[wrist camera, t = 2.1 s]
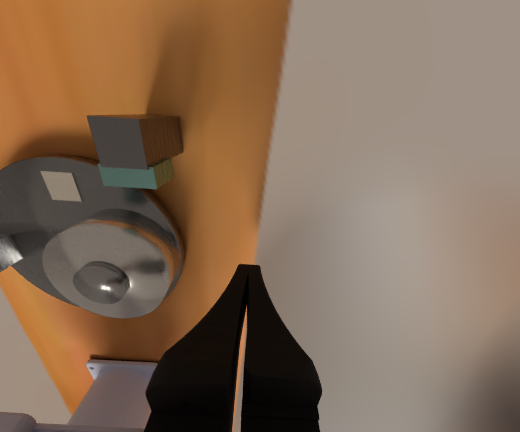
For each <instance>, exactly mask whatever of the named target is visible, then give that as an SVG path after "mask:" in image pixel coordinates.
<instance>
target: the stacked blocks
mask: <svg viewBox="0 0 520 432" xmlns="http://www.w3.org/2000/svg"><path fill="white" fill-rule="evenodd" d="M87 119H88V123H89V126H90V129H91V133H92V136H93V140H94V143H95V147H96V150H97V154H98V157H99V161H100V163H99V164H98V167H99V170H100V174H101V177H102V181H103V184H104V186H114V187H130V188H147V189H158V188H159V187H161V186H162V185H163V184H165V183H166V182H168V181H169V180H170V179H172V178H173V177H174V174H173V166H172V158H173V157H175V156H177V155H179V154H181V153H183V146H182V137H181V127H180V118H179V117H176V116H161V115H146V114H140V115H88V116H87Z"/></svg>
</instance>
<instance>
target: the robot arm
mask: <svg viewBox="0 0 520 432" xmlns="http://www.w3.org/2000/svg"><path fill="white" fill-rule="evenodd" d="M246 306H247V338H246V349H245V361H244V377H243V379H244V380H243V398H242V411H241V432H320V429H319V423H318V420H319V413H318V408H317V406H318V403H319V400H320V398H321V395H322V387H321V383H320V380H319V377H318V374H317V371H316V369H315V366H314V364H313V361H312V360H311V359H310V357H309V356H308V355H307V354H306V353H305V352H304V350H303V349H302V348H301V347H300V345H299V344H298V343H297V342H296V340H295V339H294V338H293V336H292V335H291V334H290V332H289V330H288V329H287V328H286V326H285V325H284V323H283V321H282V320H281V318H280V317H279V315H278V313H277V311H276V309H275V307H274V305H273V303H272V301H271V299H270V297H269V295H268V292H267V289H266V287H265V284H264V281H263V278H262V274H261V269H260V266H259V265H247V264H239V265H238V267H237V269H236V272H235V274H234V276H233V277H232V279H231V281H230V283H229V284H228V286H227V288H226V289H225V291H224V292H223V294H222V295H221V297H220V298H219V299H218V301H217V302H216V303H215V305H214V306H213V307H212V308H211V309H210V311H209V312H208V313H207V314H206V315H205V316H204V317H203V319H202V320H201V321H200V322H199V323H198V324H197V325H196V326H195V327H194V328H193V329H192V330H190V331H189V332H188V333H187V334H186V335H185V336H184V337H183V338H182V339H181V340H179V341H178V342H177V343H176V344H175V345H173V346H172V347H171V348H170V349H168V350H167V351H166V352H165V353H164V354H163V356H162V358H161V359H160V361H159V363H153V362H133V361H113V360H93V359H91V360H88V362H87V363H86V366H87V368H88V370H89V371H90V373H91V375H92V377H93V378H94V380H95V381H94V382H93V384H92V385H91V387H90V388H89V390H88V392H87V393H86V395H85V396H84V398H83V400H82V401H81V403H80V404H79V406H78V408H77V409H76V411H75V412H74V414H73V416H72V417H71V419H70V420H69V422H68V424H67V425H61V424H41V423H36V420H35V419H34V418H33V417H32V416H30V415H28V414H23V413H8V412H0V432H232V424H233V412H234V401H235V390H236V379H237V368H238V358H239V347H240V340H241V334H242V328H243V323H244V317H245V312H246Z"/></svg>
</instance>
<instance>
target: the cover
mask: <svg viewBox="0 0 520 432" xmlns="http://www.w3.org/2000/svg"><path fill="white" fill-rule="evenodd" d="M42 262H43V267H44V271H45V273H46V275H47V277H48V279H49V280H50V282H51V283H52V285H53V286H54V287H55V288H56V289H57V290H58V291H59V292H60V293H61V294H62V295H63V296H64V297H65V298H67V299H68V300H70V301H71V302H73V303H74V304H76V305H78V306H79V307H81V308H83V309H85V310H88V311H90V312H93V313H96V314H99V315H102V316H106V317H112V318H135V317H140V316H143V315H146V314H148V313H150V312H152V311H153V310H155V309H156V308H157V307H158V306H159V305H160V303H161V302H162V300H163V298H164V296H165V295H166V293H167V291H168V289H169V287H170V285H171V283H172V281H173V280H174V278H175V276H176V274H177V272H178V270H179V266H180V254H179V250H178V248H177V245H176V243H175V241H174V240H173V238H172V237H171V236H170V234H169V233H168V232H167V231H166V230H165V229H164V228H163V227H162V226H161V225H159V224H158V223H157V222H155V221H154V220H152V219H150V218H149V217H147V216H144V215H142V214H140V213H137V212H134V211H130V210H126V209H105V210H101V211H98V212H95V213H93V214H91V215H90V216H88V217H86V218H85V219H83V220H81V221H80V222H78V223H76V224H75V225H73V226H71V227H70V228H68V229H66V230H65V231H63V232H61V233H60V234H58V235H56V236H55V237H53V238H52V239H51V240H50V241H49V242H48V243H47V245H46V246H45V248H44V251H43V256H42Z"/></svg>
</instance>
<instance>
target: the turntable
mask: <svg viewBox="0 0 520 432" xmlns="http://www.w3.org/2000/svg"><path fill="white" fill-rule="evenodd" d="M99 163H100V162H98V161H96V160H92V159H88V158H84V157H80V156H72V155H47V156H40V157H35V158H30V159H25V160H22V161H18V162H15V163H12V164H10V165H9V166H7V167H5V168H3V169H2V170H0V272H1V271H3V270H4V269H6V268H8V267H9V266H12V267H13V268H14V269H15V270H16V271H17V272H18V273H19V274H21V275H22V276H23V277H24V278H25V279H27V280H28V281H29V282H31V283H32V284H34V285H35V286H36V287H38V288H39V289H41V290H43V291H45V292H46V293H48V294H50V295H52V296H54V297H56V298H58V299H60V300H62V301H65V302H67V303H69V304H72V305H75V306H78V305H76V304H74V303H73V302H71V301H70V300H68V299H67V298H65V297H64V296H63V295H62V294H61V293H60V292H59V291H58V290H57V289H56V288H55V287H54V286H53V285H52V283H51V282H50V280H49V279H48V277H47V275H46V273H45V271H44V267H43V262H42V256H43V251H44V248H45V246H46V245H47V243H48V242H49V241H50V240H51V239H52V238H53V237H55V236H56V235H58V234H60V233H61V232H63V231H65V230H66V229H68V228H70V227H71V226H73V225H75V224H76V223H78V222H80V221H81V220H83V219H85V218H86V217H88V216H90V215H91V214H93V213H95V212H98V211H101V210H105V209H126V210H130V211H134V212H137V213H140V214H142V215H144V216H147V217H149V218H150V219H152V220H154V221H155V222H157V223H158V224H159V225H161V226H162V227H163V228H164V229H165V230H166V231H167V232H168V233H169V234H170V236H171V237H172V238H173V240H174V241H175V243H176V245H177V248H178V250H179V254H180V266H179V270H178V272H177V274H176V276H175V278H174V280H173V281H172V283H171V285H170V287H169V289H168V291H167V293H166V295H165V296H164V298H163V300H164V299H165V298H166V297H167V296H168V295H169V294H170V292H171V291H172V290H173V289H174V287H175V285H176V283H177V281H178V279H179V277H180V275H181V273H182V269H183V266H184V258H185V255H184V245H183V241H182V237H181V234H180V232H179V229H178V227H177V225H176V223H175V221H174V219H173V218H172V216H171V215H170V213H169V212H168V210H167V209H166V208H165V207H164V205H163V204H162V203H161V202H160V201H159V200H158V199H157V198H156V197H155V196H154V195H153V194H152V193H151V192H150V191H149V190H148V189H147V188H130V187H114V186H104V184H103V181H102V177H101V174H100V170H99V167H98V164H99ZM78 307H79V306H78Z"/></svg>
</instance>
